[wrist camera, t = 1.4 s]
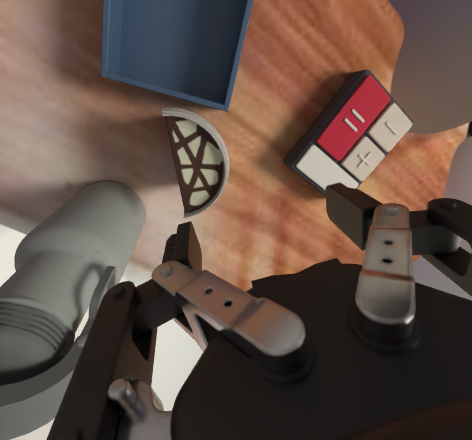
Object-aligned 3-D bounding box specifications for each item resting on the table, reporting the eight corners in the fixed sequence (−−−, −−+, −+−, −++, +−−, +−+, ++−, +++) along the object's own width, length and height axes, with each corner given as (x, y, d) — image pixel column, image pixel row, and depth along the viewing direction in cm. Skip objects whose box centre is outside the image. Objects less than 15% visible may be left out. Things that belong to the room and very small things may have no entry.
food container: (227, 187, 39) (236, 215, 30) (188, 192, 38) (184, 222, 30) (217, 99, 33) (224, 101, 24) (171, 104, 33) (160, 108, 24)
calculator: (419, 123, 34) (343, 209, 38) (396, 121, 38) (329, 199, 42) (371, 66, 30) (292, 168, 34) (351, 70, 34) (282, 161, 38)
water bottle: (152, 187, 37) (60, 372, 13) (146, 242, 41) (66, 466, 16) (77, 172, 35) (-219, 364, 10) (77, 232, 39) (-134, 476, 14)
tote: (115, 78, 31) (100, 76, 26) (124, -94, 25) (107, -138, 20) (224, 109, 34) (228, 111, 29) (256, -37, 28) (268, -63, 23)
